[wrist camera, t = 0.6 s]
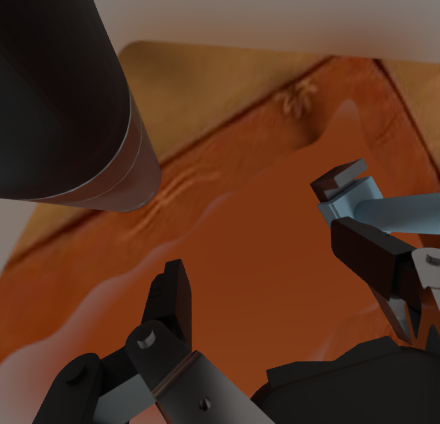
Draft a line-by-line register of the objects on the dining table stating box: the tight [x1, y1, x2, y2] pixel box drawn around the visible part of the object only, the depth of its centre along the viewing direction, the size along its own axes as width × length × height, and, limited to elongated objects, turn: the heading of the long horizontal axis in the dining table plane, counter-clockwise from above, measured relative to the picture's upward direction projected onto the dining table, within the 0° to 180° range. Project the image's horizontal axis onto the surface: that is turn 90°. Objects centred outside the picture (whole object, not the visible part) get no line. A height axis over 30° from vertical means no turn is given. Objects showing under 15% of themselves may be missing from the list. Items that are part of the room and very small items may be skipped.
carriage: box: [317, 176, 440, 234], centre depth 24 cm, size 8×7×16 cm
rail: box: [310, 158, 413, 346], centre depth 30 cm, size 28×5×5 cm, turn 32°
